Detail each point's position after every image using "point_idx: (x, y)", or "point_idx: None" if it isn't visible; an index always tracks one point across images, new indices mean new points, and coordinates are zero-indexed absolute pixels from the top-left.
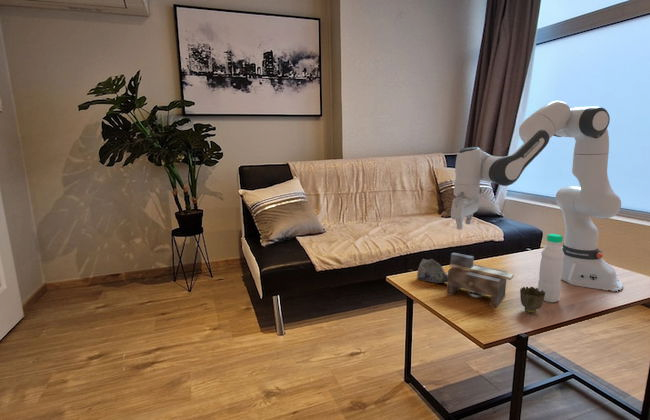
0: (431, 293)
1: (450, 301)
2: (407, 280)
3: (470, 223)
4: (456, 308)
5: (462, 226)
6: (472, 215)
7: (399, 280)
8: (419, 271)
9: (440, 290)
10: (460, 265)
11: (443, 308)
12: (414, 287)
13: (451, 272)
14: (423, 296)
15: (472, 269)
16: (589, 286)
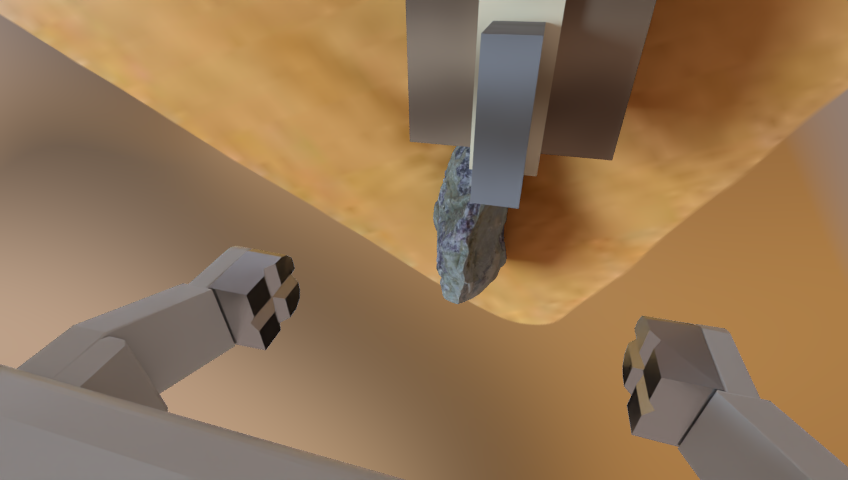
0: (623, 171)
1: (688, 63)
2: (529, 283)
3: (258, 253)
4: (782, 2)
5: (684, 352)
6: (103, 330)
7: (545, 306)
8: (495, 274)
9: None
10: (533, 108)
11: (804, 67)
12: (588, 246)
13: (617, 134)
14: (676, 192)
15: (564, 4)
16: None
